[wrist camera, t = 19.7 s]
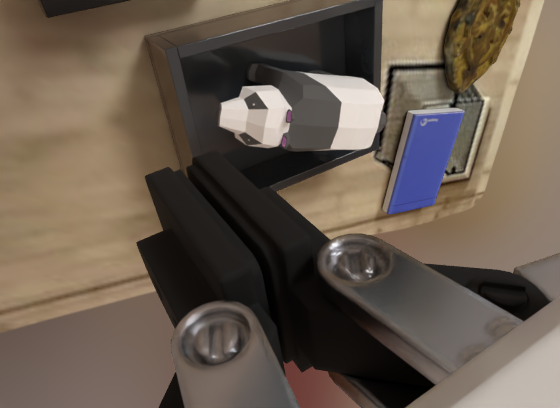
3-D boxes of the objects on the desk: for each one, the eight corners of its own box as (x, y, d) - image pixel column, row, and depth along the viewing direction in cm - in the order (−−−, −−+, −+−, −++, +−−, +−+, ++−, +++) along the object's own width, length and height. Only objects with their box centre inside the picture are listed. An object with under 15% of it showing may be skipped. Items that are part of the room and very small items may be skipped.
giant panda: (341, 67, 40) (417, 97, 33) (327, 125, 42) (395, 165, 35) (186, 50, 32) (243, 85, 25) (179, 123, 35) (230, 173, 28)
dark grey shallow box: (188, 193, 39) (208, 220, 36) (144, 35, 31) (164, 49, 28) (348, 131, 45) (379, 149, 42) (345, -14, 37) (383, -7, 34)
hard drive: (416, 115, 47) (389, 215, 53) (466, 111, 51) (436, 205, 57) (406, 110, 48) (380, 209, 54) (455, 107, 52) (427, 199, 58)
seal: (469, 91, 54) (523, -48, 47) (505, 103, 50) (569, -44, 44) (424, 88, 48) (480, -71, 41) (462, 101, 45) (528, -68, 38)
